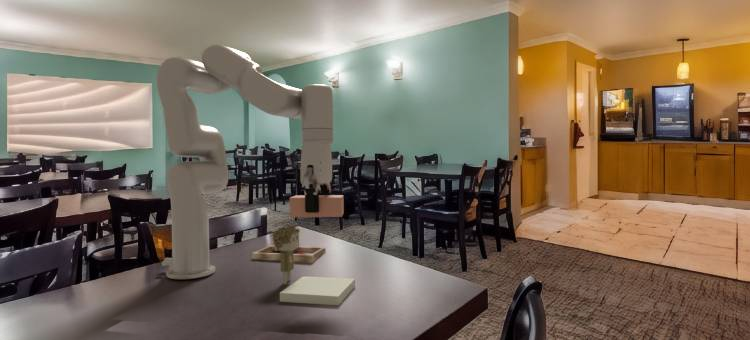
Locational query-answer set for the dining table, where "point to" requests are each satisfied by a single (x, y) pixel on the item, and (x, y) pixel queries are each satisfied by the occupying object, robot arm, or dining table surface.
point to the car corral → (304, 258)
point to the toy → (286, 248)
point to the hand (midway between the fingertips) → (318, 209)
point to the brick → (327, 206)
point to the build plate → (318, 290)
